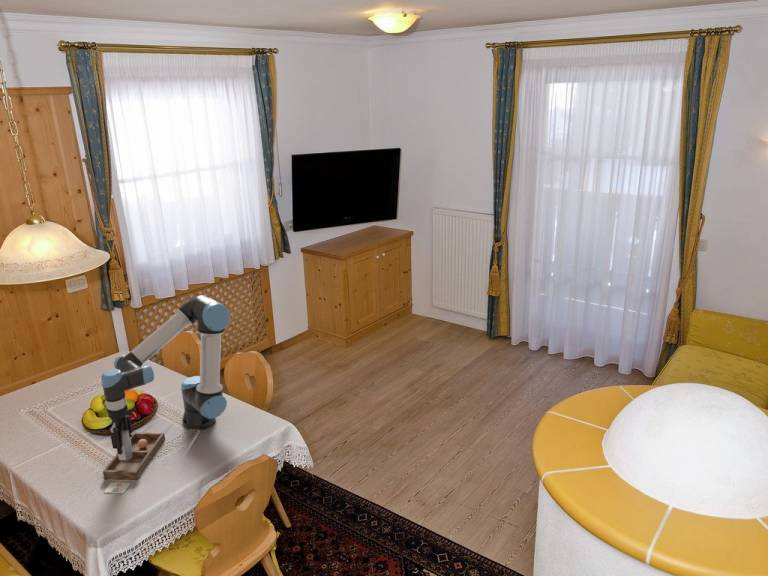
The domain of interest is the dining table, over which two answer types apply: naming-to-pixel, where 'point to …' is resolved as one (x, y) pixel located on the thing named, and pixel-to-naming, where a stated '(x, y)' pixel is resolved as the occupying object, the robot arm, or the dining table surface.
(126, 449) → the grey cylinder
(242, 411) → the dining table surface
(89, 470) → the dining table surface
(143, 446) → the ball
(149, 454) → the tray
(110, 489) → the card
